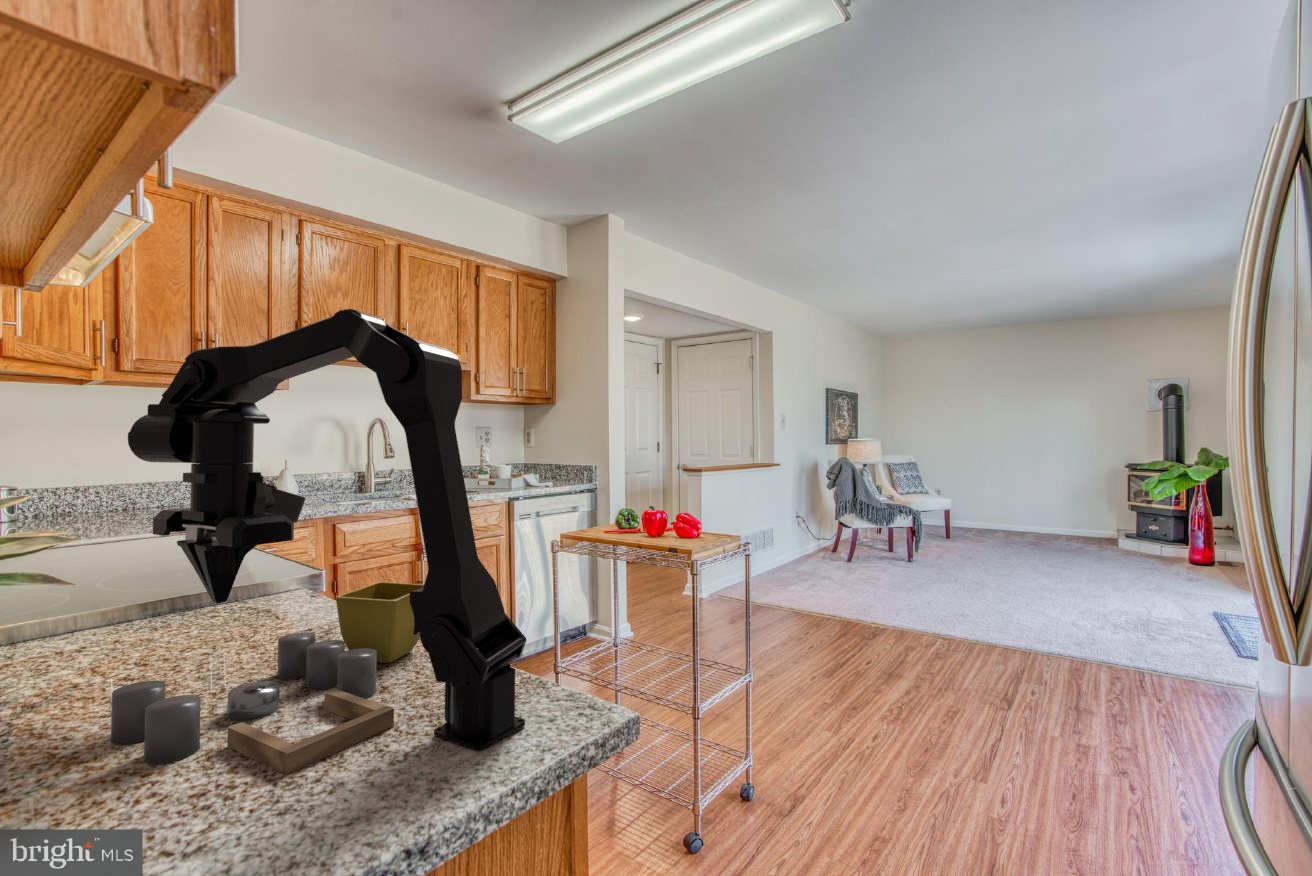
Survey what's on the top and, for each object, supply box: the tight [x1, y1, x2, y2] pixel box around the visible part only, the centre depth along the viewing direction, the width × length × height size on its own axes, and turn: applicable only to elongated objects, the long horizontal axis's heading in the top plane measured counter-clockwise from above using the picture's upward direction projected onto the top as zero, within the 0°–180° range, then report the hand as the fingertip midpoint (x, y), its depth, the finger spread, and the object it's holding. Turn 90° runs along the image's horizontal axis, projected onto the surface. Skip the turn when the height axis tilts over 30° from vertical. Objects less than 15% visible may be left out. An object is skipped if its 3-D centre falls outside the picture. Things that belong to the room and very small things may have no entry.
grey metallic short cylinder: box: [226, 680, 281, 723], centre depth 65 cm, size 5×5×3 cm
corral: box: [227, 688, 395, 776], centre depth 59 cm, size 10×11×2 cm
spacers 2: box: [277, 631, 377, 699], centre depth 73 cm, size 16×4×4 cm, turn 60°
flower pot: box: [335, 581, 424, 664], centre depth 82 cm, size 9×9×9 cm
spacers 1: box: [110, 680, 202, 765], centre depth 58 cm, size 11×4×4 cm, turn 60°
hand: (220, 602), depth 68 cm, fingers closed
